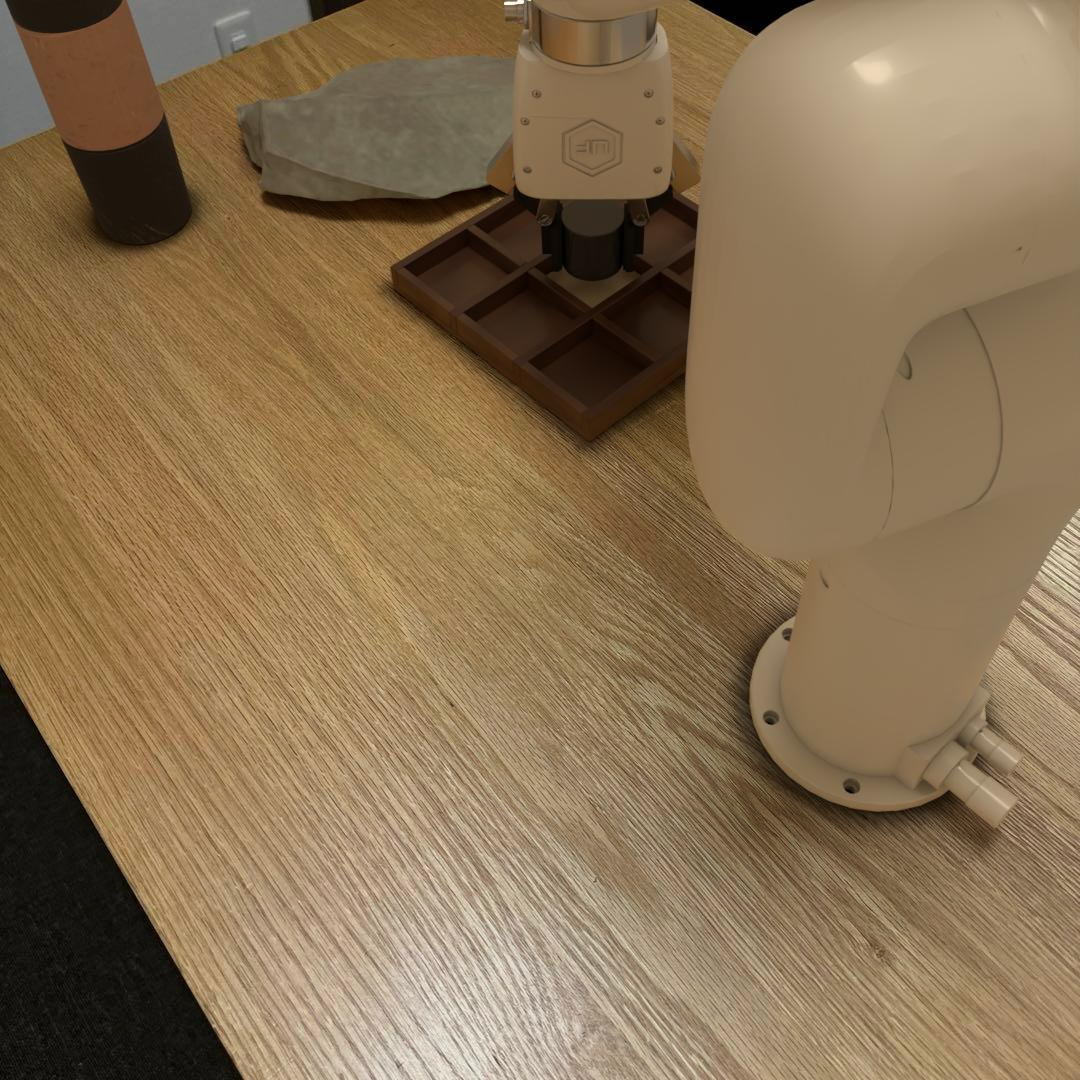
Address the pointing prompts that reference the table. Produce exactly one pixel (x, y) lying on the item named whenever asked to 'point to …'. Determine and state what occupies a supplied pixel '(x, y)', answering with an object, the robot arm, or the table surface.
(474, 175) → the rock
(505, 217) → the board
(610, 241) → the dark cylinder
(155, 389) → the table surface
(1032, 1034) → the table surface
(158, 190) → the travel mug
